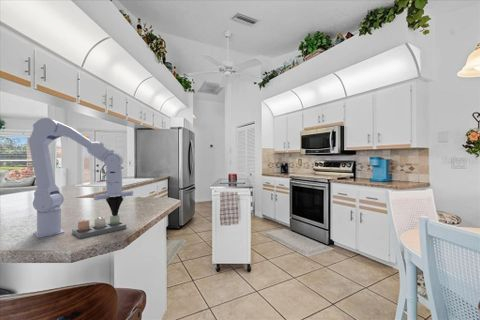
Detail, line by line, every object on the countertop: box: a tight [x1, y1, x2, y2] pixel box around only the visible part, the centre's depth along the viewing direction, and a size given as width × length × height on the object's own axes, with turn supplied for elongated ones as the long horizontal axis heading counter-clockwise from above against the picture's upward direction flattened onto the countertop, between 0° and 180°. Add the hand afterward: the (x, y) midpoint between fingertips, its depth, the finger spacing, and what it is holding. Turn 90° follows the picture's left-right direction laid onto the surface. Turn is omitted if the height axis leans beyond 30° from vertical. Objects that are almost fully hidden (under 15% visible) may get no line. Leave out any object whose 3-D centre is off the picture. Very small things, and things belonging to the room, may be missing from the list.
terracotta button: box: [77, 219, 91, 232], centre depth 87 cm, size 4×4×4 cm
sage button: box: [109, 214, 121, 225], centre depth 95 cm, size 4×4×4 cm
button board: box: [71, 221, 127, 239], centre depth 91 cm, size 10×16×2 cm, turn 139°
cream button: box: [94, 216, 106, 228], centre depth 91 cm, size 4×4×4 cm
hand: (114, 215), depth 95 cm, fingers closed, pressing on sage button
